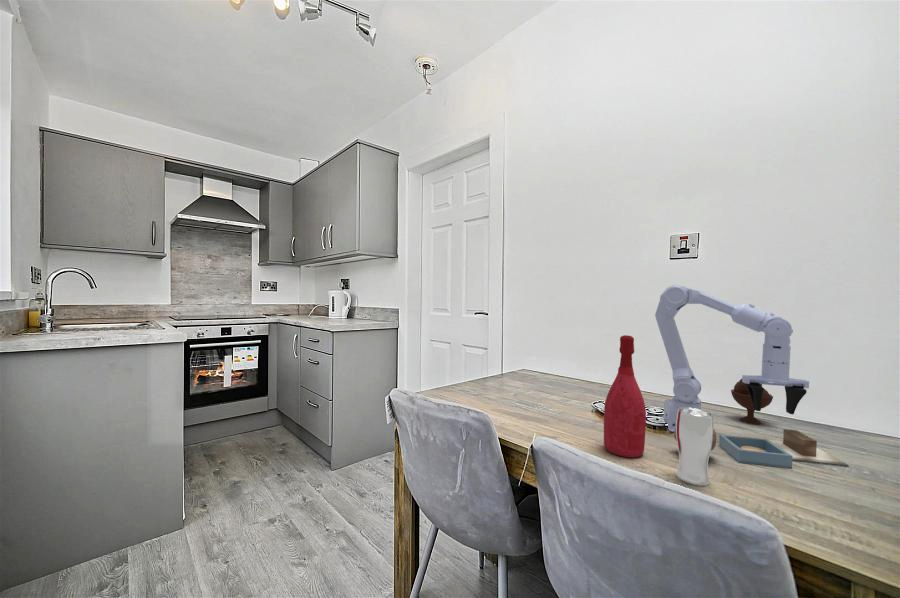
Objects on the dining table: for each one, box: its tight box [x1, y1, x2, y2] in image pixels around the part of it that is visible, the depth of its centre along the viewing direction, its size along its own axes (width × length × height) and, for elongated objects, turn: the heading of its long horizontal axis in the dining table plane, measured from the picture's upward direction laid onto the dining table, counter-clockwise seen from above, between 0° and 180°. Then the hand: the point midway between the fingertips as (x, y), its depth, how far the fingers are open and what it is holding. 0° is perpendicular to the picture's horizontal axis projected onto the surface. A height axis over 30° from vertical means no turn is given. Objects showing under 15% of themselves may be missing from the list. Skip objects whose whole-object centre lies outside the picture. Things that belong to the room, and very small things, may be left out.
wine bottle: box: [603, 334, 647, 458], centre depth 99 cm, size 10×10×30 cm
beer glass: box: [676, 407, 714, 487], centre depth 85 cm, size 7×7×15 cm
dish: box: [718, 434, 793, 469], centre depth 98 cm, size 11×11×3 cm
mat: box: [792, 448, 850, 468], centre depth 101 cm, size 14×12×1 cm
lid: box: [767, 428, 845, 465], centre depth 101 cm, size 12×12×4 cm
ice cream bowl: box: [730, 378, 774, 425], centre depth 127 cm, size 11×11×15 cm
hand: (773, 411), depth 104 cm, fingers open, 7 cm apart
